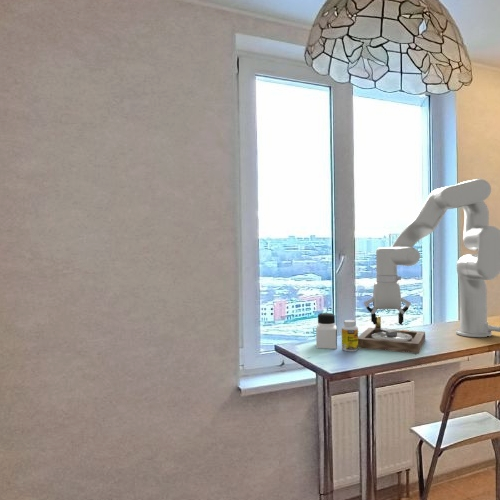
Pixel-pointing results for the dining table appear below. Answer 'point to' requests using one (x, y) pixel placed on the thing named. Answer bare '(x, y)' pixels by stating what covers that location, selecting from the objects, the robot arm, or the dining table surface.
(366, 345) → the housing
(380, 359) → the dining table surface
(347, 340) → the supplement bottle
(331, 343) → the medicine bottle
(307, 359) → the dining table surface
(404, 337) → the dial
